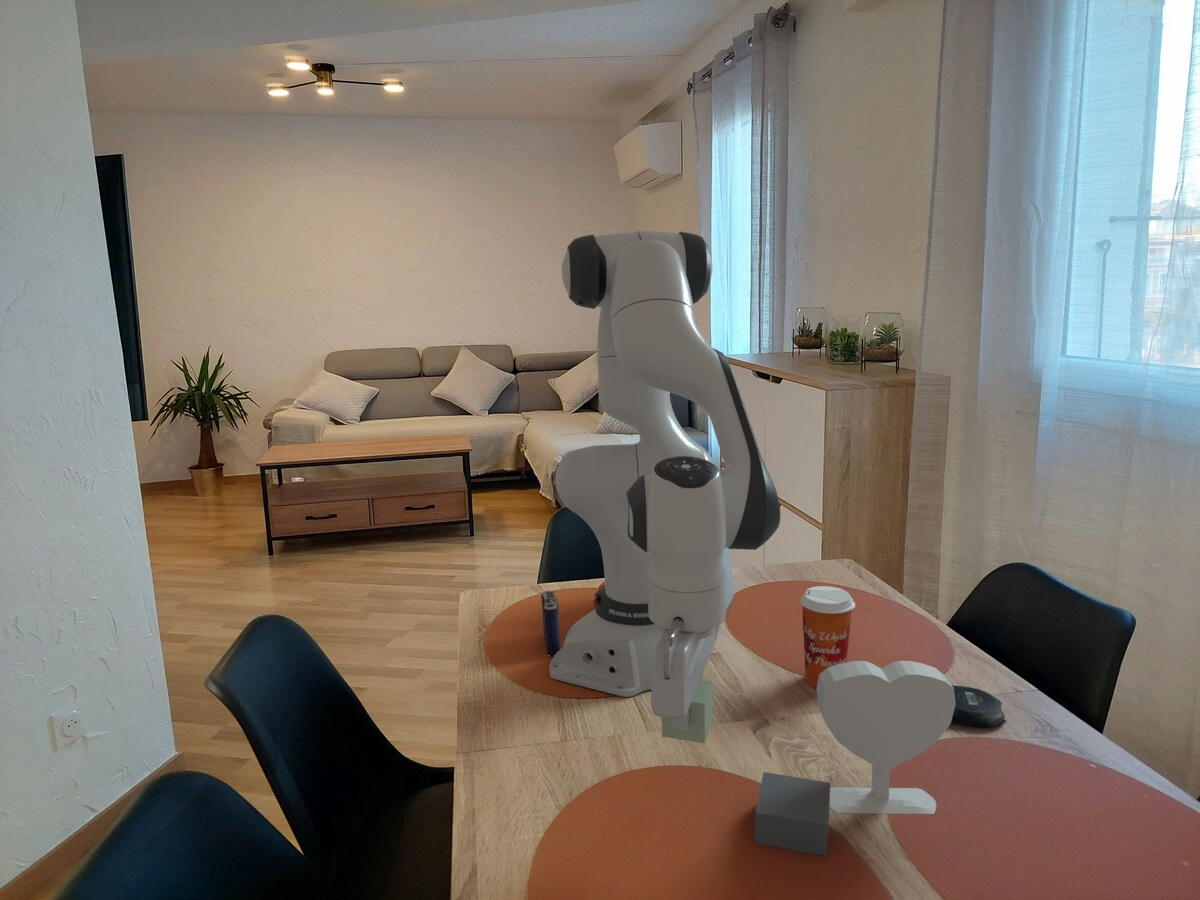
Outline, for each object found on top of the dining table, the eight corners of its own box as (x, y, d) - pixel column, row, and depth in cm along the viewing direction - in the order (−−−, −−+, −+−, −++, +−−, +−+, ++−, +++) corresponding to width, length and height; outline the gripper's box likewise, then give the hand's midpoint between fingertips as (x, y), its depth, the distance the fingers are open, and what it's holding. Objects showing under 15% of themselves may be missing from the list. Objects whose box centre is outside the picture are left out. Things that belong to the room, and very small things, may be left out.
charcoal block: (754, 842, 92) (755, 812, 91) (763, 800, 99) (763, 771, 98) (826, 856, 89) (827, 825, 88) (829, 811, 97) (830, 782, 96)
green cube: (661, 736, 91) (661, 697, 90) (671, 714, 96) (671, 676, 95) (704, 743, 90) (704, 703, 89) (712, 720, 94) (712, 681, 93)
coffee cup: (795, 689, 126) (796, 601, 123) (802, 666, 133) (804, 582, 130) (849, 698, 123) (853, 607, 120) (854, 673, 130) (857, 588, 127)
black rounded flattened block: (901, 734, 116) (1013, 731, 112) (897, 697, 115) (1008, 693, 112) (893, 709, 125) (997, 706, 121) (889, 675, 124) (992, 670, 121)
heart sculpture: (936, 788, 100) (944, 657, 97) (950, 814, 96) (960, 677, 92) (812, 787, 101) (815, 658, 98) (820, 812, 96) (824, 677, 93)
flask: (542, 635, 148) (540, 581, 146) (558, 634, 148) (556, 580, 146) (546, 658, 139) (543, 601, 137) (562, 656, 140) (560, 599, 137)
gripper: (695, 645, 79) (696, 768, 82) (728, 572, 98) (728, 673, 101) (635, 638, 81) (637, 758, 84) (679, 567, 100) (679, 667, 103)
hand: (687, 711), depth 92 cm, fingers closed on green cube, 5 cm apart
